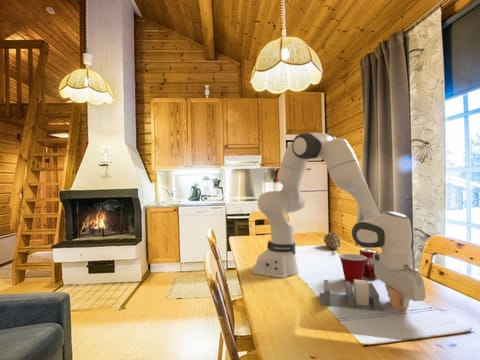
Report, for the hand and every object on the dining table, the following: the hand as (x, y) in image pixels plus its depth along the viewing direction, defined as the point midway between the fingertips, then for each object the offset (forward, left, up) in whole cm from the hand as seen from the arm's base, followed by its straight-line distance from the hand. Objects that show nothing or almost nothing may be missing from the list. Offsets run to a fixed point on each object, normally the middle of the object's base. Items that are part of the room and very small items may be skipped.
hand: (397, 302), depth 88 cm
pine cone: (-14, +74, -3) cm, 75 cm away
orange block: (0, 0, -3) cm, 3 cm away
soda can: (-3, +30, -3) cm, 30 cm away
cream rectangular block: (-11, 0, -1) cm, 11 cm away
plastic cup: (-11, +20, -3) cm, 23 cm away
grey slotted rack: (-15, 0, -3) cm, 15 cm away
